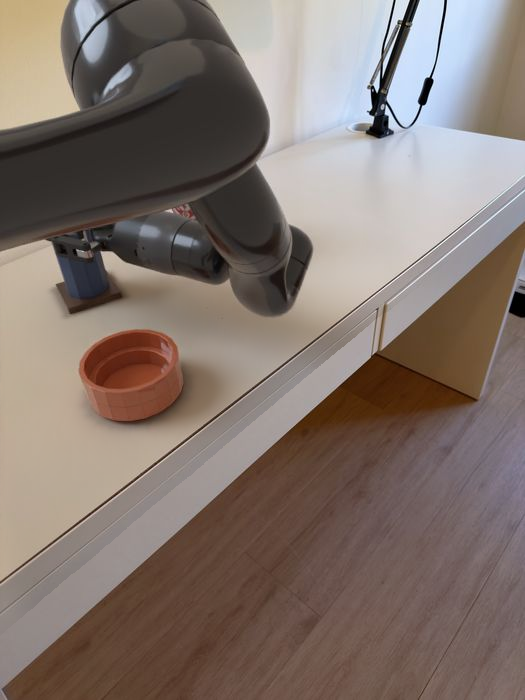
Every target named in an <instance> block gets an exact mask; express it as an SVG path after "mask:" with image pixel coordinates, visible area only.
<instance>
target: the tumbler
mask: <svg viewBox="0 0 525 700" xmlns="http://www.w3.org/2000/svg"><path fill="white" fill-rule="evenodd" d="M85 233H86V237H87V240H88V241H89V242H91V243H92V242H94V241H93V239H92V236H91V232H90V230H85ZM70 238H75V239H79V238H78V235H76V234H74V235H70ZM51 246H52V248H53V251H54V254H55V257H56V260H57V264H58V267H59V270H60V272H61V275H62V279H63V282H65V285H66V288H67V291H68V293H69V295H70V296H71V297H74V298H78V299H85V298H92V297H95V296H97V295H99V294H101V293H103V292H105V291H106V289H107V288H108V286H109V281H108V277H107V274H106V271H107V269H106V266H105V262H104V260H103V259H104V258H103V256H102V251H99V252H97V253H96V254H94V255H93V256H94V259H95V261H94V262H93V263H89V264H88V263H83V262H79V261H75V260H71V259H67V258H63V257H59V256H57V255H56V253H55V248H54V245H53V242H51ZM105 269H106V270H105Z"/></svg>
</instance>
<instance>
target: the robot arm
mask: <svg viewBox="0 0 525 700" xmlns="http://www.w3.org/2000/svg"><path fill="white" fill-rule="evenodd" d="M59 42H60V43H59V44H60V46H59V48H60V53H61V58H62V59H61V60H62V64H63V69H64V74H65V77H66V80H67V84H68V85H69V88H70V90H71V93H72V96H73V98H74V100H75V102H76V105H77V107H78V108H79V110H76V111H73V112H70V113H67V114H63V115H60V116H57V117H52V118H48V119H44V120H40V121H36V122H31V123H27V124H22V125H18V126H14V127H9V128H2V129H1V128H0V253H1V252H5V251H7V250H12V249H15V248H19V247H22V246H26V245H28V244H33V243H37V242H41V241H46V242H51V243H52V242H53V245H54V248H55V251H54V254H55V253H56V255H57V256H59V257H63V258H67V259H71V260H75V261H79V262H83V263H88V264H89V263H93V262H94V261H95V259H94V256H93V255H94V254H96V253H97V252H99V251H101V253H102V252H105V253H106V252H110V253H113V254H115V256H117V257H118V258H119V259H120V260H121V261H122V262H124V263H126V264H129V265H132V266H137V267H140V268H144V269H146V270H150V271H154V272H157V273H161V274H165V275H169V276H178V277H182V278H186V279H188V280H189V279H190V280H193V281H196V282H200V283H203V284H207V285H211V286H212V285H213V286H220V285H222V284H224V283H226V282H228V280H229V284H230V287H231V291H232V293H233V295H234V296H235V298H236V300H237V301H238V302H239V304H241V305H242V307H244V308H245V309H246V310H247V311H249V312H250V313H252V314H254V315H256V316H258V317H261V318H266V319H276V318H279V317H283V316H285V315H286V314H288V313H289V312H290V311H291V310H292V309H293V307H294V306H295V305H296V302H297V300H298V296H299V294H300V291H301V288H302V286H303V283H304V280H305V278H306V276H307V272H308V270H309V267H310V265H311V263H312V259H313V256H314V250H315V249H314V244H313V241H312V240H311V238H310V237H309V235H308V234H307V233H306V232H305V231H304V230H302V229H301V228H299V227H298V226H295V225H292V224H289V223H288V221H287V218H286V216H285V214H284V213H285V212H284V211H283V208H282V206H281V205H280V202H279V200H278V198H277V196H276V194H275V193H274V191H273V189H272V187H271V186H270V184H269V182H268V181H267V179H266V177H265V176H264V174H263V172H262V170H261V168H260V167H259V165H258V164H257V162H258V161H259V160H260V158H261V157H262V155H263V154H264V152H265V150H266V148H267V146H268V143H269V140H270V135H271V118H270V114H269V110H268V107H267V103H266V101H265V99H264V96H263V95H262V92H261V90H260V88H259V86H258V84H257V83H256V81H255V78H254V77H253V75H252V73H251V71H250V69H249V68H248V66H247V65H246V62H245V61H244V58H243V57H242V56H241V54H240V52H239V51H238V49H237V47H236V45H235V43H234V42H233V40H232V39H231V36H230V35H229V33H228V31H227V29H226V28H225V26H224V25H223V24H222V22H221V20H220V18H219V17H218V15H217V13H216V11H215V10H214V9H213V6H211V4H210V3H209V1H208V0H68V3H67V5H66V6H65V9H64V13H63V17H62V21H61V26H60V41H59ZM185 204H188V205H189V207H190V209H191V211H192V212H193V214H194V216H195V218H196V220H197V221H196V220H193V219H190V218H188V217H185V216H183V215H179V214H175V213H173V212H171V211H169V210H172V209H173V208H176V207H180V206H182V205H185ZM85 230H90V232H91V236H92V239H93V241H94V242H92V243H91V242H89V241H88V240H87V237H86V233H85ZM74 234H76V235H78V238H79V239H75V238H70V235H74ZM53 245H52V246H53ZM54 248H53V249H54ZM56 255H55V256H56Z"/></svg>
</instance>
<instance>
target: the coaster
mask: <svg viewBox="0 0 525 700" xmlns="http://www.w3.org/2000/svg"><path fill="white" fill-rule="evenodd" d="M105 270H106V274H107V277H108V281H109V286H108V288H107V289H106V291H105V292H103V293H101V294H99V295H97V296H95V297H92V298H85V299H78V298H74V297H71V296H70V295H69V293H68V291H67V288H66V285H65V282H64V281H60V282H58V283H55V288H56V290H57V293H58V294H59V296H60V298H61V300H62V302H63V304H64V307H66V310H67V312H68V313H69V314H70V315H71V314H74V313H77V312H80V311H84V310H86V309H90V308H93V307H96V306H100V305H102V304H105V303H108V302H111V301H114V300H115V301H116V300H118V299H120V298H121V299H122V298H123V293H122V291H121V289H120V288H119V286H118V285H117V284H116V282H115V280H114V279H113V278H112V276H111V275H110V274H109V272H108V270H107V269H106V268H105Z"/></svg>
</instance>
